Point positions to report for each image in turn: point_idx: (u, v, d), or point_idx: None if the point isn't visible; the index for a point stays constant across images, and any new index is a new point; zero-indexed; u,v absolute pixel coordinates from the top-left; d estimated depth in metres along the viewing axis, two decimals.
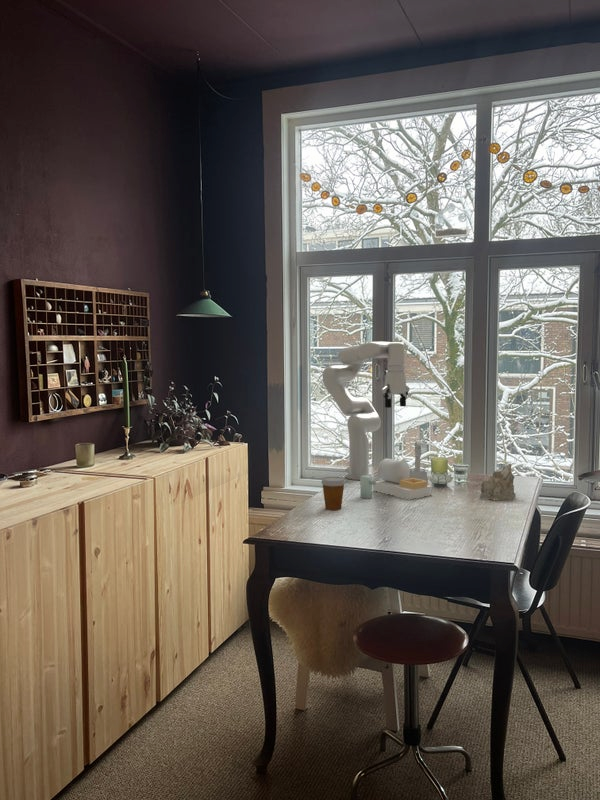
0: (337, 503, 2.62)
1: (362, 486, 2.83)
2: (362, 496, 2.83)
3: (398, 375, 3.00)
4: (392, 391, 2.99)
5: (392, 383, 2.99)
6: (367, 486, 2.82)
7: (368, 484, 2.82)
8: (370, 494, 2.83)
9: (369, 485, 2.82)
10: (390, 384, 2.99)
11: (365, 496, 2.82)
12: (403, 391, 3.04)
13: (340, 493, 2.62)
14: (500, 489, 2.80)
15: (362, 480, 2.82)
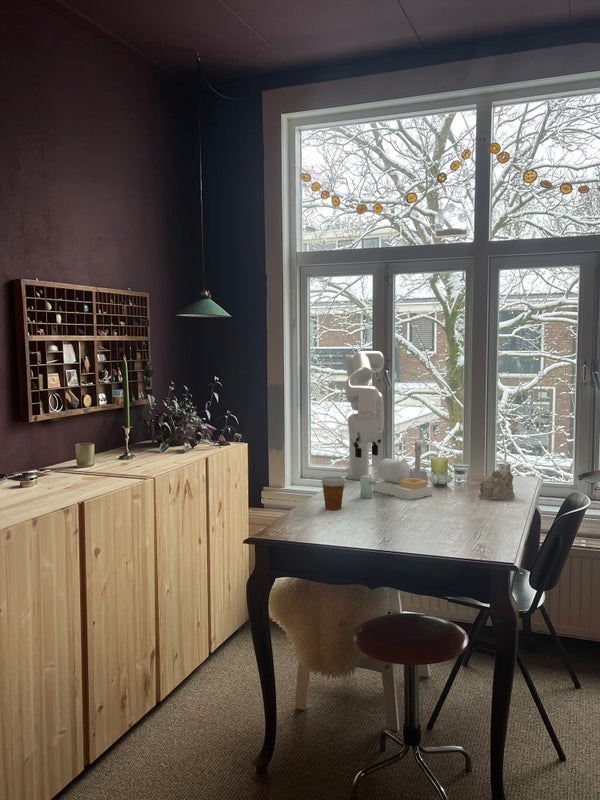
0: (337, 503, 2.62)
1: (362, 486, 2.83)
2: (362, 496, 2.83)
3: (369, 422, 2.79)
4: (362, 440, 2.78)
5: (362, 431, 2.78)
6: (367, 486, 2.82)
7: (368, 484, 2.82)
8: (370, 494, 2.83)
9: (369, 485, 2.82)
10: (360, 432, 2.78)
11: (365, 496, 2.82)
12: (375, 439, 2.82)
13: (340, 493, 2.62)
14: (499, 489, 2.81)
15: (362, 480, 2.82)
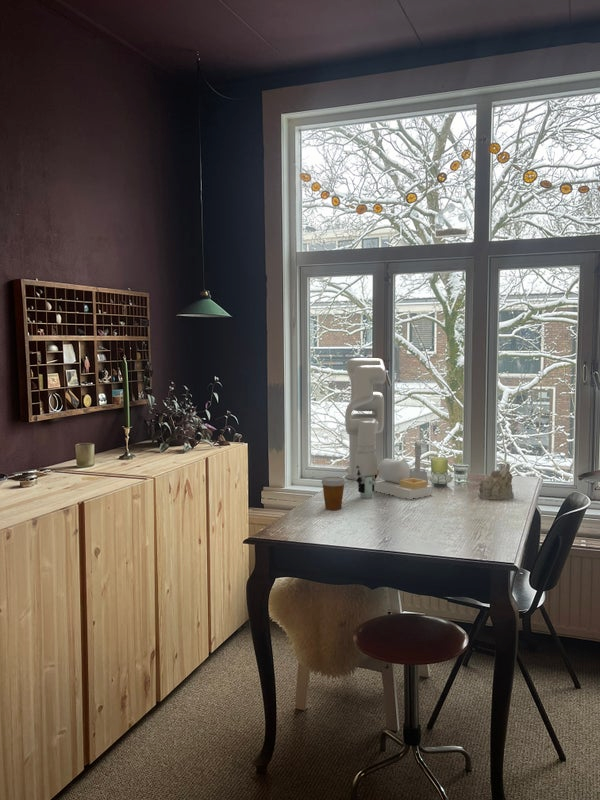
0: (337, 503, 2.62)
1: None
2: (362, 496, 2.83)
3: (369, 456, 2.81)
4: (362, 474, 2.80)
5: (362, 465, 2.79)
6: (367, 486, 2.82)
7: (368, 484, 2.82)
8: (370, 494, 2.83)
9: (369, 485, 2.82)
10: (360, 466, 2.79)
11: (365, 496, 2.82)
12: (374, 472, 2.84)
13: (340, 493, 2.62)
14: (498, 489, 2.81)
15: None
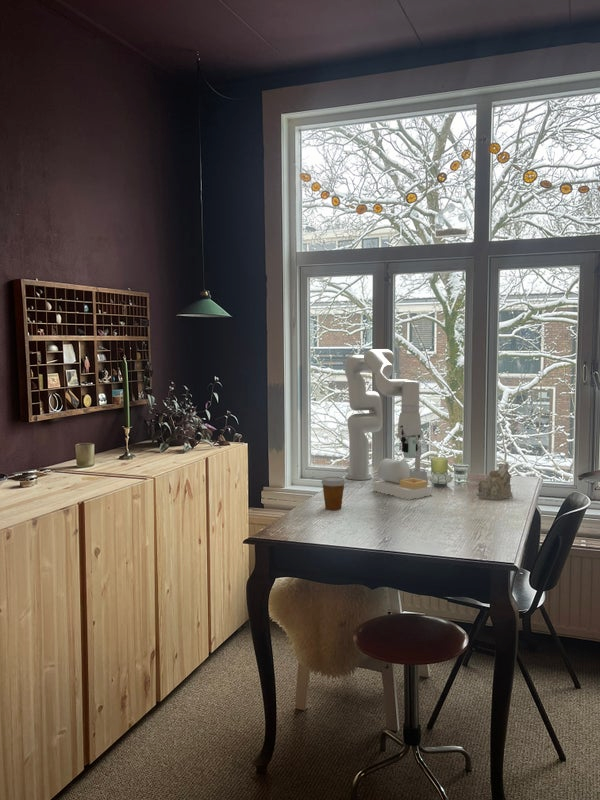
0: (337, 503, 2.62)
1: None
2: (406, 456, 2.84)
3: (413, 415, 2.82)
4: (406, 433, 2.81)
5: (406, 424, 2.80)
6: (411, 446, 2.83)
7: (412, 444, 2.83)
8: (414, 454, 2.84)
9: (413, 445, 2.83)
10: (404, 425, 2.81)
11: (409, 456, 2.83)
12: (418, 432, 2.85)
13: (340, 493, 2.62)
14: (497, 488, 2.82)
15: None
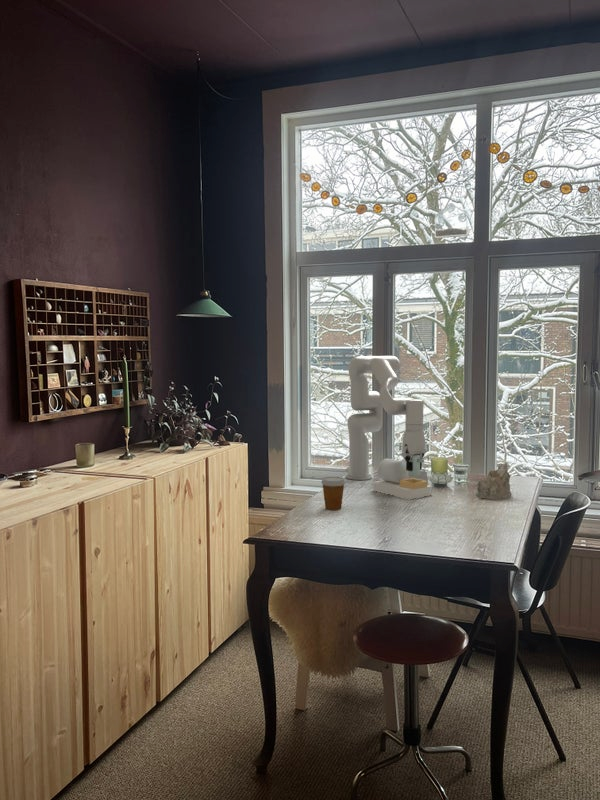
0: (337, 503, 2.62)
1: None
2: (410, 474, 2.85)
3: (417, 434, 2.83)
4: (410, 452, 2.82)
5: (410, 443, 2.81)
6: (415, 464, 2.84)
7: (416, 462, 2.84)
8: (418, 472, 2.85)
9: (417, 463, 2.84)
10: (408, 444, 2.82)
11: (413, 474, 2.84)
12: (422, 451, 2.86)
13: (340, 493, 2.62)
14: (496, 488, 2.82)
15: None
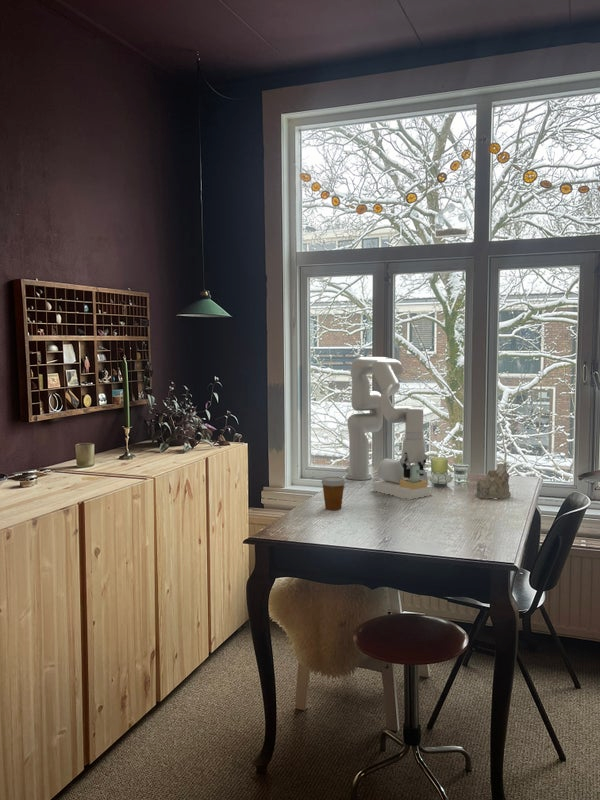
0: (337, 503, 2.62)
1: None
2: None
3: (417, 442, 2.83)
4: (410, 460, 2.82)
5: (410, 451, 2.82)
6: (415, 475, 2.84)
7: (416, 473, 2.84)
8: None
9: (416, 474, 2.85)
10: (408, 452, 2.82)
11: None
12: (422, 459, 2.86)
13: (340, 493, 2.62)
14: (496, 488, 2.82)
15: None
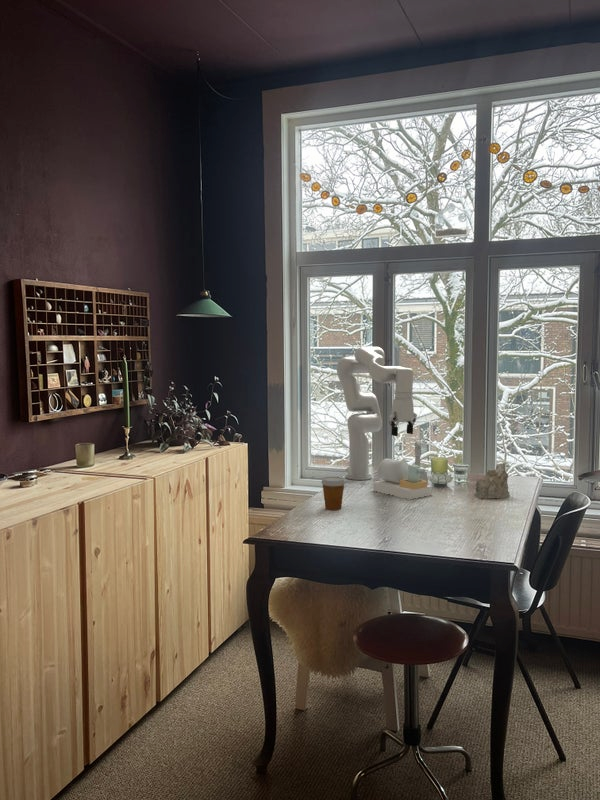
0: (337, 503, 2.62)
1: (409, 475, 2.85)
2: None
3: (406, 402, 2.89)
4: (399, 419, 2.88)
5: (399, 410, 2.87)
6: (415, 475, 2.84)
7: (416, 473, 2.84)
8: None
9: (417, 474, 2.85)
10: (397, 411, 2.88)
11: None
12: (410, 418, 2.92)
13: (340, 493, 2.62)
14: (495, 488, 2.83)
15: (410, 469, 2.85)
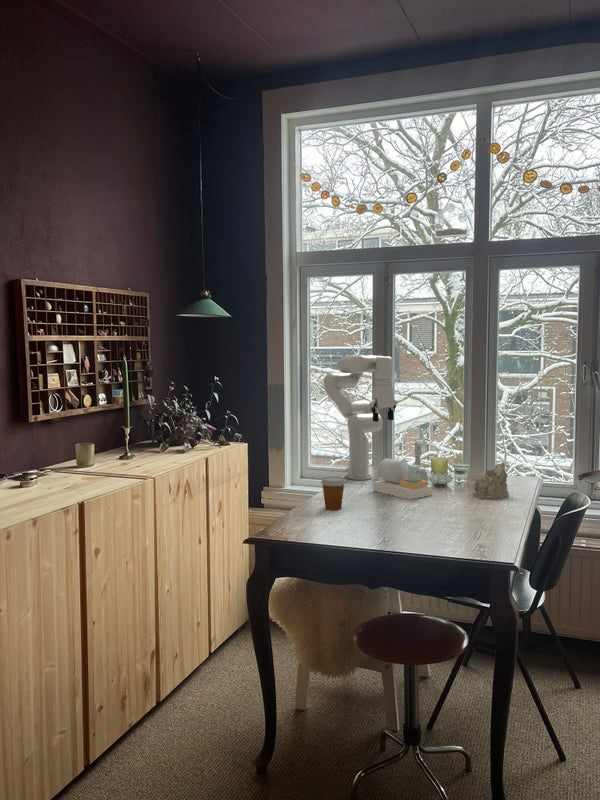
0: (337, 503, 2.62)
1: (409, 475, 2.85)
2: None
3: (386, 389, 3.01)
4: (379, 405, 3.00)
5: (379, 397, 3.00)
6: (415, 475, 2.84)
7: (416, 473, 2.84)
8: None
9: (417, 474, 2.85)
10: (377, 398, 3.00)
11: None
12: (391, 405, 3.05)
13: (340, 493, 2.62)
14: (494, 487, 2.83)
15: (410, 469, 2.85)
